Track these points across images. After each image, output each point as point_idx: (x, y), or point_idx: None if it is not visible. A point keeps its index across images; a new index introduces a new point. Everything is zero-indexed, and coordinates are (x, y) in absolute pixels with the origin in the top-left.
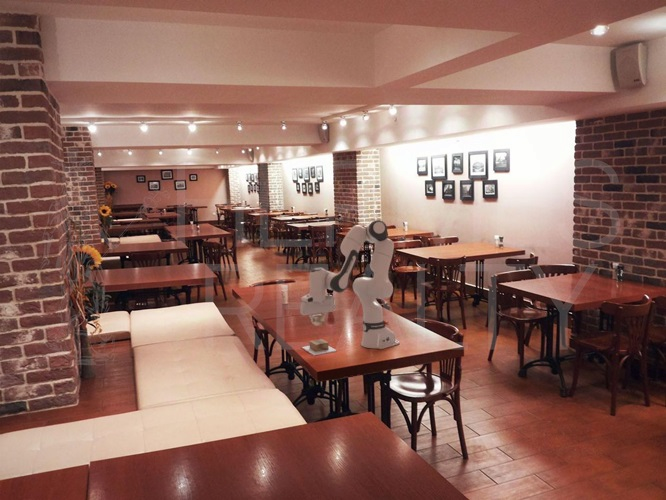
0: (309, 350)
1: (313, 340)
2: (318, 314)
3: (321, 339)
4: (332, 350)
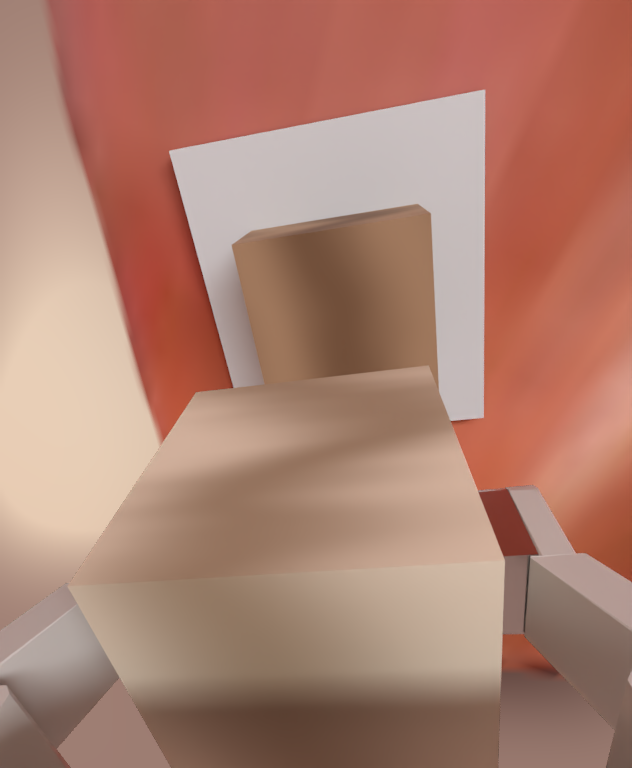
0: (232, 315)
1: (291, 237)
2: (397, 582)
3: (411, 238)
4: (445, 405)
